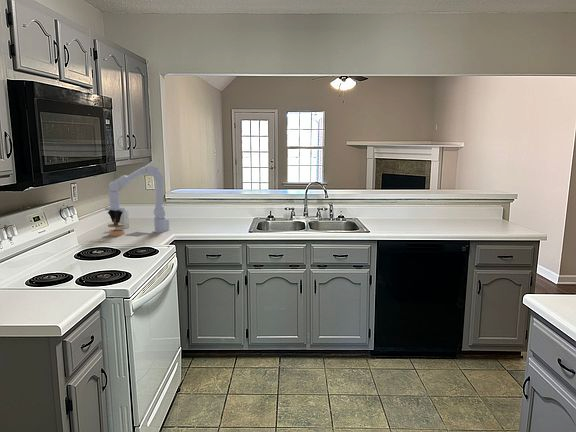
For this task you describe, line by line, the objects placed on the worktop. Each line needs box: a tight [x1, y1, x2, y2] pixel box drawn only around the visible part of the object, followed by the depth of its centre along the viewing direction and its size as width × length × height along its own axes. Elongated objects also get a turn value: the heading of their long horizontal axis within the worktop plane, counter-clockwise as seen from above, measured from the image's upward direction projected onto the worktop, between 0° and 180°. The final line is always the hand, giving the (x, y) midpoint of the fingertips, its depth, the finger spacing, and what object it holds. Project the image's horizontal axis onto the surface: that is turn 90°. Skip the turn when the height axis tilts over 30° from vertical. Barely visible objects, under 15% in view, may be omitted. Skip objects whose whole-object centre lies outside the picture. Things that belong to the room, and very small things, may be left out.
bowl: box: [108, 228, 126, 237], centre depth 284 cm, size 9×9×3 cm
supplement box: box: [114, 209, 130, 230], centre depth 305 cm, size 7×7×13 cm
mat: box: [125, 231, 150, 238], centre depth 284 cm, size 11×11×1 cm
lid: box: [107, 219, 124, 228], centre depth 283 cm, size 10×10×4 cm
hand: (116, 222), depth 283 cm, fingers closed on lid, 3 cm apart
